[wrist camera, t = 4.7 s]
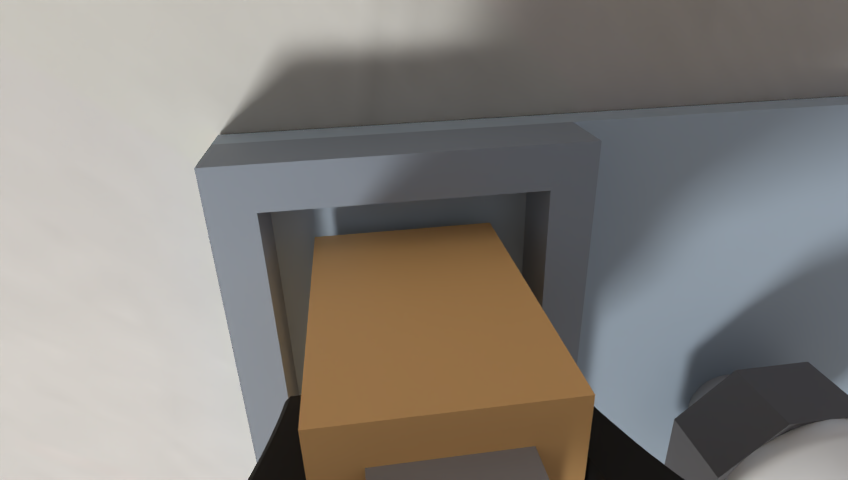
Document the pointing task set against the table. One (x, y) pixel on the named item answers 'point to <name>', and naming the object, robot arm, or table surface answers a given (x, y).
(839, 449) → the wheel
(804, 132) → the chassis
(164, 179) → the table surface
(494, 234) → the tan oblong block
